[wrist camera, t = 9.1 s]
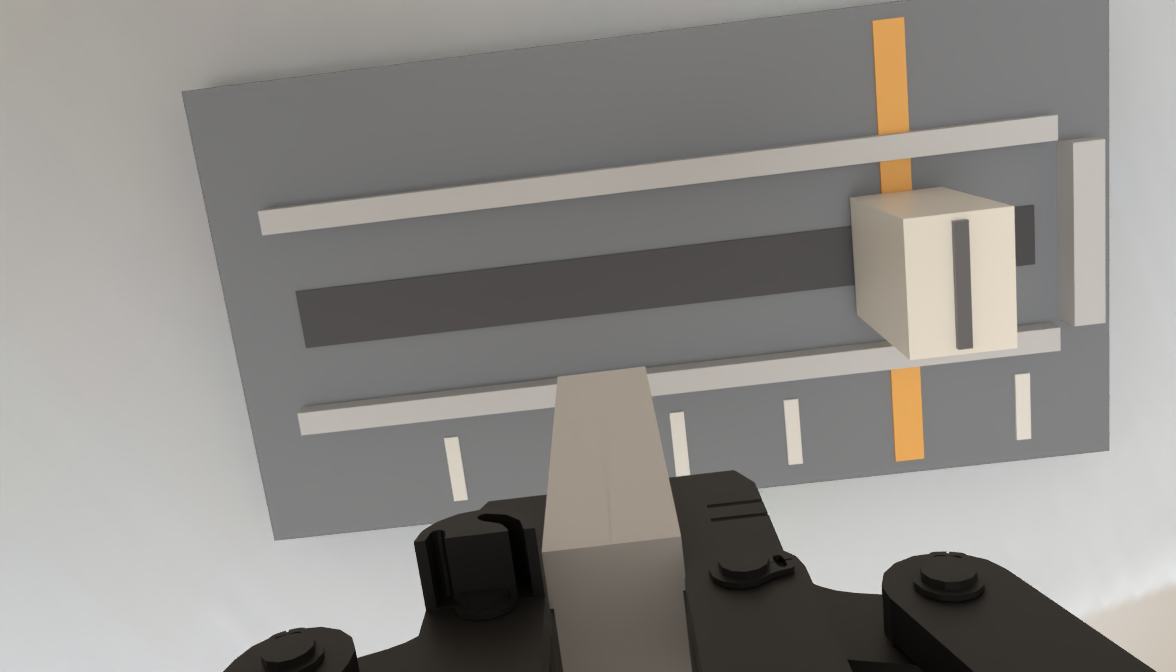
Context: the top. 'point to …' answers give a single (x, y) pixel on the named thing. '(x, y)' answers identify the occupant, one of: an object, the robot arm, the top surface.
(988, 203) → the fader tab
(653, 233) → the console
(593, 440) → the robot arm
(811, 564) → the top surface
